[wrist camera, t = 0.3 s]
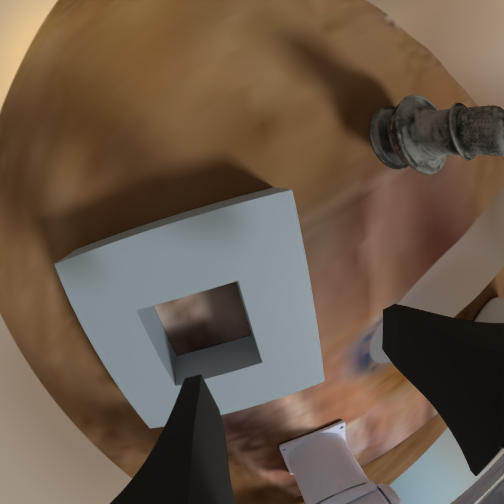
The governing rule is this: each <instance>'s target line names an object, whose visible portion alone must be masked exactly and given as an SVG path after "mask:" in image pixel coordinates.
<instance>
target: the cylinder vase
mask: <svg viewBox="0 0 504 504" xmlns="http://www.w3.org/2000/svg"><path fill="white" fill-rule="evenodd" d="M474 321H476V322H487V323H504V299H502V298H499V297H496V298H493V299H492V300H490V301H489V302H488V303H487V304H486V305H485V306H484V307H483V308H482V310H481V311H480V312H479V314H478V315H477V317H476V318H475V320H474Z"/></svg>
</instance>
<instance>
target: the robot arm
mask: <svg viewBox="0 0 504 504" xmlns="http://www.w3.org/2000/svg"><path fill="white" fill-rule="evenodd" d="M382 349H383V351H384V352H385V353H386V355H387V356H388V357H389V359H390V360H391V362H392V363H393V364H394V366H395V367H396V368H397V369H398V370H399V371H400V372H401V373H402V374H403V375H404V376H405V377H406V378H407V379H408V380H409V381H410V382H411V383H412V384H413V385H414V386H415V387H416V388H417V389H418V390H419V391H420V392H421V393H422V394H423V395H424V396H425V397H426V398H427V399H428V400H429V401H430V402H431V404H432V405H433V406H434V407H435V409H436V410H437V412H438V413H439V414H440V416H441V417H442V418H443V420H444V421H445V423H446V424H447V426H448V427H449V429H450V430H451V432H452V434H453V435H454V437H455V439H456V440H457V442H458V444H459V446H460V448H461V450H462V452H463V454H464V456H465V458H466V460H467V463H468V465H469V468H470V470H471V471H472V473H473V474H474V475H475V476H477V475H478V474H479V473H480V472H481V471H482V470H483V469H484V468H485V467H486V466H487V465H488V464H489V463H490V462H491V461H492V460H493V459H494V458H495V457H496V456H497V455H498V454H499V453H500V452H501V451H502V449H503V448H504V323H487V322H476V321H468V320H462V319H457V318H451V317H447V316H443V315H438V314H435V313H431V312H426V311H423V310H419V309H414V308H411V307H407V306H402V305H397V304H394V305H392V306H390V307H388V308H386V309H383V345H382ZM279 448H280V451H281V453H282V456H283V458H284V461H285V463H286V465H287V468H288V470H289V473H290V474H291V475H294V477H295V480H296V482H297V485H298V487H299V490H300V492H301V494H302V497H303V499H304V502H305V504H402V502H401V500H400V499H399V497H398V495H397V494H396V493H395V491H393V489H392V488H391V487H390V486H389V485H385V484H381V483H380V484H378V485H375V483H374V482H373V481H371V482H369V480H368V478H367V477H366V475H365V473H364V472H363V470H362V468H361V467H360V465H359V464H358V462H357V460H356V459H355V457H354V455H353V454H352V452H351V450H350V449H349V447H348V445H347V444H346V442H345V422H344V421H340V422H337V423H335V424H333V425H330V426H328V427H326V428H323V429H321V430H318V431H316V432H313V433H311V434H308V435H305V436H303V437H300V438H297V439H294V440H291V441H288V442H285V443H282V444H280V445H279ZM503 473H504V454H503V455H502V456H501V457H500V458H499V459H498V460H497V462H496V463H495V464H494V465H493V466H492V467H491V468H490V469H489V470H488V471H487V472H486V473H485V474H484V475H483V476H482V477H481V478H480V479H479V480H478V481H477V482H475V483H474V484H473V485H472V486H471V487H470V488H469V489H468V490H466V491H465V492H464V493H463V494H462V495H461V496H459V497H458V498H457V499H456V500H455V501H454V502H452V503H451V504H473V503H475V502H476V501H477V500H478V499H479V498H480V497H481V496H482V495H483V494H484V493H485V492H486V491H487V490H488V489H489V488H490V487H491V486H492V485H493V484H494V483H495V482H496V481H497V480H498V479H499V478H500V477H501V476H502V475H503ZM110 504H236V502H235V498H234V495H233V491H232V486H231V481H230V473H229V465H228V456H227V448H226V439H225V432H224V427H223V423H222V419H221V414H220V410H219V408H218V406H217V404H216V402H215V400H214V398H213V396H212V394H211V392H210V390H209V388H208V386H207V384H206V382H205V380H204V378H203V376H202V374H200V375H196V376H192V377H187V378H185V379H184V381H183V384H182V386H181V389H180V392H179V394H178V397H177V399H176V402H175V404H174V407H173V409H172V411H171V413H170V416H169V418H168V420H167V423H166V425H165V427H164V429H163V431H162V433H161V435H160V436H159V438H158V440H157V442H156V444H155V446H154V448H153V449H152V451H151V453H150V454H149V456H148V458H147V459H146V461H145V462H144V464H143V465H142V467H141V468H140V469H139V471H138V472H137V473H136V475H135V476H134V477H133V479H132V480H131V481H130V483H129V484H128V485H127V486H126V487H125V488H124V490H123V491H122V492H121V493H120V494H119V495H118V496H117V497H116V498H115V499H114V500H113V501H112V502H111V503H110ZM478 504H504V479H503V480H502V481H501V482H499V483H498V484H497V485H496V486H495V487H494V488H493V489H492V490H491V491H490V492H489V493H488V494H487V495H485V497H484V498H483V499H482V500H481V501H480V502H479V503H478Z"/></svg>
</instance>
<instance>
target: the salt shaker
mask: <svg viewBox="0 0 504 504" xmlns="http://www.w3.org/2000/svg"><path fill="white" fill-rule="evenodd" d="M369 128H370V139H371V144H372V146H373V149H374V151H375V153H376V155H377V156H378V157H379V159H380V160H381V161H382V162H383V163H384V164H385V165H387V166H389V167H391V168H393V169H403V168H406V167H407V166H410V167H412V168H414V169H415V170H417V171H418V172H420V173H422V174H428V175H430V174H434V173H436V172H437V171H439V170H440V169H441V167H442V166H443V164H444V163H445V160H446V157H447V155H460V156H461V157H462V158H464V159H466V160H472V159H473V158H474V157H475V156H476V154H477V155H495V156H504V110H503V109H502V108H501V107H498V106H481V107H470V108H467V107H466V106H465V105H463V104H461V103H455V104H453V106H452V107H451V109H445V110H437V109H436V107H435V106H434V105H433V104H432V103H431V102H430V101H428V100H427V99H426V98H424V97H422V96H419V95H410V96H407V97H405V98H404V99H403V100H402V101H401V102H400V103H399V105H398V106H397V107H396V108H395V107H392V106H384V107H382V108H380V109H378V110H377V111H376V112H375V113H374V115H373V117H372V119H371V122H370V127H369Z"/></svg>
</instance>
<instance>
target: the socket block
mask: <svg viewBox="0 0 504 504" xmlns="http://www.w3.org/2000/svg"><path fill="white" fill-rule="evenodd" d="M54 265H55V268H56V270H57V273H58V275H59V278H60V280H61V283H62V285H63V287H64V290H65V292H66V294H67V296H68V299H69V301H70V303H71V305H72V307H73V309H74V311H75V313H76V315H77V317H78V319H79V321H80V323H81V325H82V327H83V329H84V331H85V333H86V335H87V336H88V338H89V340H90V342H91V344H92V345H93V347H94V349H95V351H96V352H97V354H98V356H99V357H100V359H101V361H102V362H103V364H104V366H105V367H106V369H107V370H108V372H109V373H110V375H111V376H112V378H113V379H114V381H115V382H116V384H117V385H118V387H119V388H120V390H121V391H122V393H123V394H124V395H125V397H126V398H127V400H128V401H129V402H130V404H131V405H132V406H133V408H134V409H135V410H136V412H137V413H138V414H139V416H140V417H141V418H142V419H143V421H144V422H145V423H146V424H147V426H148V427H149V428H157V427H164V426H165V425H166V423H167V420H168V418H169V416H170V413H171V411H172V409H173V407H174V404H175V402H176V399H177V397H178V394H179V392H180V389H181V386H182V384H183V381H184V379H185V378H187V377H192V376H196V375H200V374H202V376H203V378H204V380H205V382H206V384H207V386H208V388H209V390H210V392H211V394H212V396H213V398H214V400H215V402H216V404H217V406H218V408H219V410H220V414H221V415H224V414H228V413H231V412H235V411H239V410H243V409H246V408H250V407H253V406H256V405H260V404H263V403H266V402H269V401H272V400H275V399H278V398H281V397H284V396H287V395H290V394H293V393H295V392H298V391H301V390H304V389H306V388H309V387H311V386H314V385H316V384H319V383H321V382H324V381H325V380H324V371H323V363H322V355H321V348H320V341H319V334H318V327H317V320H316V314H315V307H314V301H313V295H312V289H311V283H310V277H309V272H308V266H307V261H306V255H305V250H304V245H303V240H302V235H301V230H300V225H299V220H298V215H297V210H296V206H295V201H294V196H293V192H292V190H291V189H283V188H275V187H273V188H269V189H265V190H262V191H258V192H254V193H250V194H246V195H242V196H239V197H235V198H231V199H228V200H224V201H221V202H217V203H214V204H210V205H207V206H203V207H200V208H196V209H193V210H190V211H186V212H183V213H180V214H177V215H173V216H170V217H167V218H164V219H161V220H158V221H155V222H151V223H148V224H145V225H142V226H139V227H136V228H133V229H131V230H128V231H125V232H122V233H119V234H116V235H113V236H111V237H108V238H105V239H102V240H99V241H97V242H94V243H91V244H89V245H86V246H83V247H81V248H78V249H76V250H74V251H73V252H71V253H70V254H68V255H67V256H66V257H64V258H63V259H61V260H60V261H58V262H57V263H55V264H54ZM232 282H236V284H237V287H238V290H239V294H240V297H241V300H242V304H243V307H244V310H245V314H246V317H247V320H248V324H249V327H250V330H251V333H252V335H250V336H246V337H243V338H240V339H237V340H233V341H230V342H226V343H223V344H220V345H216V346H212V347H209V348H205V349H202V350H198V351H194V352H190V353H186V354H182V355H178V356H177V355H176V353H175V351H174V349H173V347H172V345H171V343H170V341H169V339H168V337H167V334H166V332H165V330H164V328H163V326H162V324H161V321H160V319H159V317H158V315H157V312H156V310H155V308H154V305H157V304H161V303H164V302H168V301H171V300H175V299H178V298H182V297H185V296H189V295H192V294H196V293H199V292H202V291H206V290H209V289H212V288H216V287H219V286H223V285H226V284H229V283H232Z"/></svg>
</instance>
